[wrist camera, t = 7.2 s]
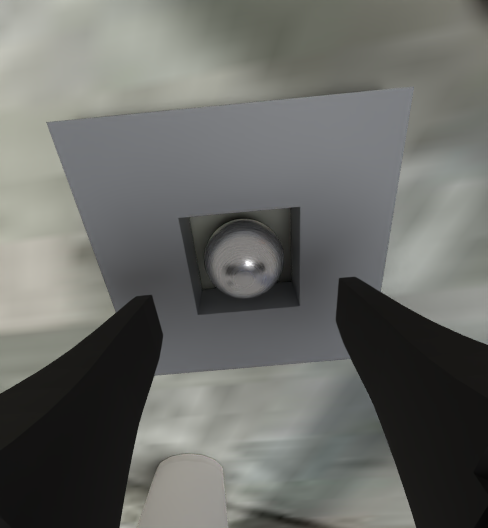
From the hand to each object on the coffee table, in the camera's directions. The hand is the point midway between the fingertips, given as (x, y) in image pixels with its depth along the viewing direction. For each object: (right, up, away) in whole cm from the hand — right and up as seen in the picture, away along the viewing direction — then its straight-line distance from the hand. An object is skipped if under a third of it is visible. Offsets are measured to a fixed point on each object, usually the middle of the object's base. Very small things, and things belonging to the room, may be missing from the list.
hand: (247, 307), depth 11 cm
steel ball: (0, +2, +3) cm, 4 cm away
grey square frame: (0, +3, +5) cm, 6 cm away
